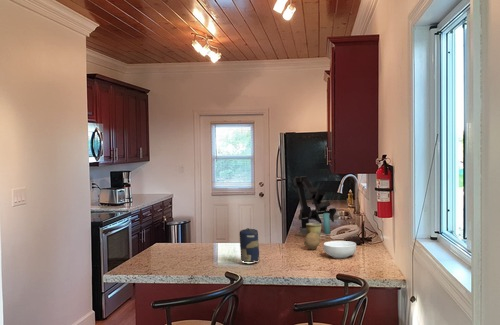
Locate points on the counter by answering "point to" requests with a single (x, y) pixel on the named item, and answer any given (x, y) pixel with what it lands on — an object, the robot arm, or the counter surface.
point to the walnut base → (302, 232)
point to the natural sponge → (312, 241)
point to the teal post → (326, 223)
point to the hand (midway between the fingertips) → (327, 222)
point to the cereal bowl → (340, 248)
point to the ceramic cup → (314, 228)
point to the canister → (249, 245)
